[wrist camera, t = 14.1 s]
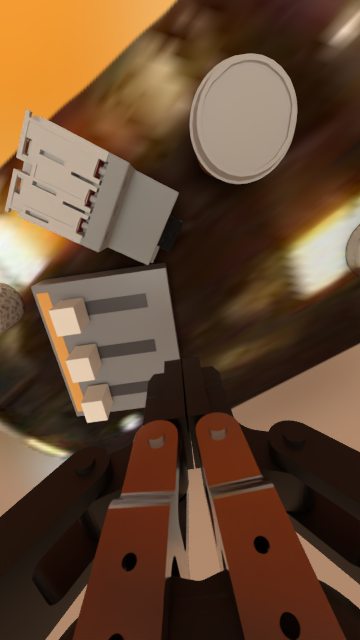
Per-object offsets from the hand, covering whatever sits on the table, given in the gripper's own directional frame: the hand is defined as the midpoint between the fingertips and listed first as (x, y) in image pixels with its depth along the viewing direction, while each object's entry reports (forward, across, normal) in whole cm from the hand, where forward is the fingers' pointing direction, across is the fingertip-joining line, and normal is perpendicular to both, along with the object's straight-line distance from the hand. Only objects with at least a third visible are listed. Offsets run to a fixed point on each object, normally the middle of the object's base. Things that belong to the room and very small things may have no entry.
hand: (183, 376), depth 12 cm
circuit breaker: (+29, +5, -8) cm, 31 cm away
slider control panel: (+29, +10, +11) cm, 33 cm away
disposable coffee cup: (+29, -8, -13) cm, 33 cm away
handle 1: (+25, +14, +4) cm, 29 cm away
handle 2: (+25, +14, +18) cm, 34 cm away
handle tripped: (+25, +14, +11) cm, 30 cm away
